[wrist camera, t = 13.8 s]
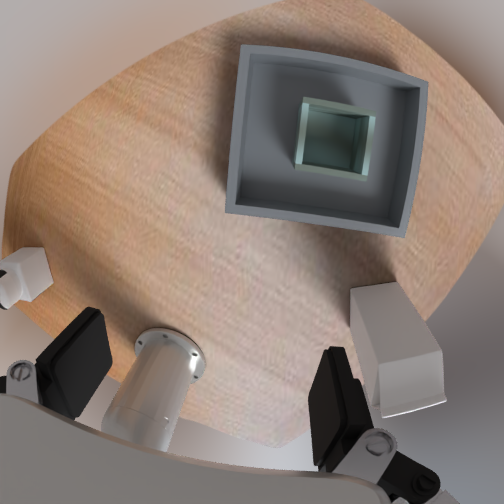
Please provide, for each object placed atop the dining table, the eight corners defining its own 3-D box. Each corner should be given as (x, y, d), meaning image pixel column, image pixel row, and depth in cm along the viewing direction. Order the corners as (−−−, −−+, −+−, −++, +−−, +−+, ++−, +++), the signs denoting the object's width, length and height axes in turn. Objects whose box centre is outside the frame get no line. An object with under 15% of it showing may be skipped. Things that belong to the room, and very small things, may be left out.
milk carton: (349, 287, 37) (388, 395, 20) (397, 280, 36) (457, 376, 19) (349, 328, 40) (376, 435, 22) (393, 321, 39) (437, 419, 21)
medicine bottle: (32, 280, 43) (-7, 311, 32) (22, 246, 41) (-21, 273, 30) (54, 283, 43) (14, 317, 32) (44, 246, 40) (-2, 276, 29)
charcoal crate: (389, 224, 34) (404, 238, 29) (232, 202, 35) (224, 212, 30) (410, 87, 27) (428, 81, 22) (246, 57, 28) (241, 44, 23)
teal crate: (351, 174, 31) (366, 181, 25) (292, 164, 31) (294, 169, 26) (359, 115, 28) (376, 111, 23) (299, 104, 28) (303, 96, 23)
